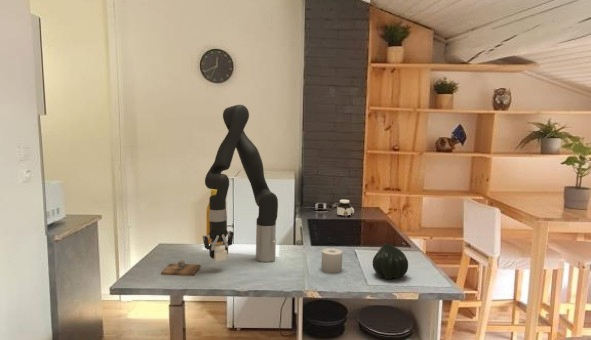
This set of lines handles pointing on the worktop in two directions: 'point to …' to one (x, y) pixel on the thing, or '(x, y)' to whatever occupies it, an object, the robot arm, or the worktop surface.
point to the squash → (390, 262)
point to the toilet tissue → (331, 260)
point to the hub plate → (181, 269)
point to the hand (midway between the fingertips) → (218, 256)
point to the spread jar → (344, 208)
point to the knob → (219, 252)
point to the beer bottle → (213, 192)
